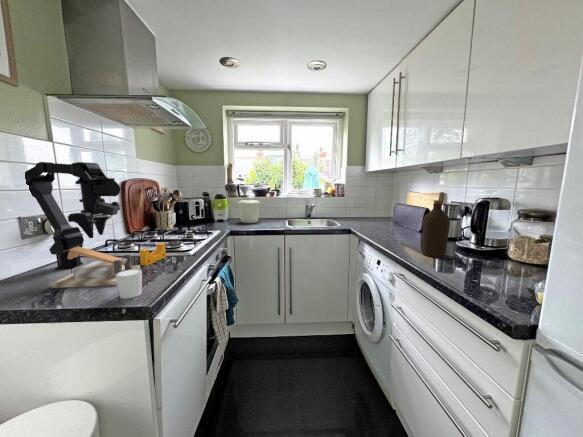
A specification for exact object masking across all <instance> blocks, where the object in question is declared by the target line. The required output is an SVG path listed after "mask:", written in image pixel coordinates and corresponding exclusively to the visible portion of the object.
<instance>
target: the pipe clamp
mask: <svg viewBox="0 0 583 437" xmlns="http://www.w3.org/2000/svg"><path fill="white" fill-rule="evenodd" d="M138 252H139V257H140V258H139V260H140V266H146V267H147V266H149V265H151V264H153V263H156V262H159V261H160V260H163V259H165V258H166V257H167V255H166V254H167V252H166V244H165V243H163V242H161V243H157V244H156V249H155V250H153V251H151V252H150V251H149V249H148V248H143V249H139V251H138Z"/></svg>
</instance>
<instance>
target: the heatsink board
mask: <svg viewBox="0 0 583 437" xmlns="http://www.w3.org/2000/svg"><path fill="white" fill-rule="evenodd" d="M124 258H128V261H127V262H126V263H125V264H123V265H121V260H114V261H113V263H114V264H110V263H107V262H103V261H100V260H97V261H96V260H95V261H91V262H89V263H87V264H85V265H83V266H80V267H79V268H77V269H75V270H73V271H72V273H70V274H68V275H67V276H64V277H62V278H61V279H58V280H56V281H53V282H52V283H51V286H52V288H53V289H54V288H55V289H56V288H57V289H58V288H79V287H105V286H106V287H107V286H118V285H117V281H116V276H115V275H116V274H117V273H119V272H121V271H125V270H130V269H139V270H141V264H132V255H131V254H124V255H123V259H124Z"/></svg>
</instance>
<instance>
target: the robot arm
mask: <svg viewBox="0 0 583 437" xmlns="http://www.w3.org/2000/svg"><path fill="white" fill-rule="evenodd" d="M24 173H25V179H26V184H27V185H29V190H30V192H31V194H32V196H31V197H33V198H35V200H36V201H37V203H38V205H39V207H40V208H41V210H42V212H43V214H44V215H45V217H46V219H47V220H48V222H49V225H51V227H52V229H53V236H52V239H53V242H54V243H53V244H52V245H51V246H50V248H49V250H48V251H49V252H50V254H51V255H54V256H55V257H56V263H57V266H56V267H54V269H55V270H65V269H74V268H76V267H79V266H81V265H82V264H84V262H83V261H82V260H81V255H79V256H77V257H75V258H73V259H67V258H68V254H69V250H70V249H72V248H74V247H77V246H79V247H84V246H83V245H84V238H85V237H84V234H83V233H82V231H83V232H84V233H85V234H86V236H87V237H88V238H89V239H94V226H95V228H96V231H97V233H98V235H99V236H103V234H104V231H105V228H106V223H107V221H108V220H110V219H111V218H112V216H115V215H118V213H119V211H121V207H120V206H121V205H120V203H119V202H118V201H112V202H106V199H105V198H102V197H117V196H118V195H120V193H121V186H120V184H119V183H118V182H117V181H116V180H115V177H114V178H113V177H108V175H106V173H105V172H104V171H103V169H102V168H101V167H100V165H99V164H98V163H97V162H85V161H83V162H82V161H78V162H72V163H70V164H68V163H58V162H57V163H56V162H50V161H39V162H36V164H35V165H34V166H33V167H31V168H30V169H28V170H26V171H24ZM43 173H44V174H43ZM45 173H46V174H45ZM55 174H63V175H64V174H67V175H72V176H74V177H75V178H78V179H77V180H76V181H75V182H74V183H75V185H80V191H81V193H80V194H81V199H79V200H78V202H79V203H82V207H83V208H82V209H81V210H80V212H73V213H69V214H68V215H67V218H66V216H65V215H64V213H63V211H62V210H61V208H60V206H59V204H58V202H57V201H56V199H55V198H54V195H53V193H52V192H53V188H54V186H53V182H54V181H55V180H56V178H55ZM69 223H75V224H77V225H78V226H79V227H80V228H81V229H82V231H81V230H80V228H79V227H78V226H75V227H73V225H71V224H69Z"/></svg>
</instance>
